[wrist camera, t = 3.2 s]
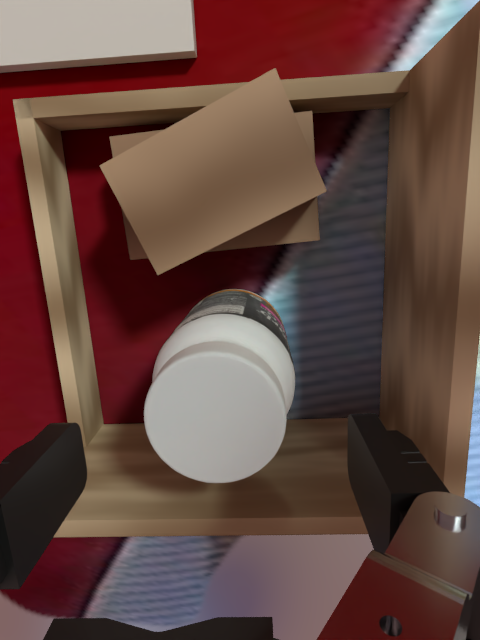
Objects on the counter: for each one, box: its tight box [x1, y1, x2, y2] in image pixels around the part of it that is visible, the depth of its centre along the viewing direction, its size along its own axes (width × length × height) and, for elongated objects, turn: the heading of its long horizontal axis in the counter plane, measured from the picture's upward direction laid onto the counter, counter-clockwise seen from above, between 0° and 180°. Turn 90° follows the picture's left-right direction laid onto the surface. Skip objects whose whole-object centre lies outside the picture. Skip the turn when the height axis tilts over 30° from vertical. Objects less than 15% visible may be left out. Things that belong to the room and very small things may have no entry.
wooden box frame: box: [13, 1, 480, 537], centre depth 18 cm, size 18×18×8 cm
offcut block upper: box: [100, 68, 327, 275], centre depth 17 cm, size 5×8×2 cm, turn 116°
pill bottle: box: [144, 289, 295, 483], centre depth 17 cm, size 6×6×10 cm
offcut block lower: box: [109, 111, 320, 260], centre depth 19 cm, size 6×9×3 cm, turn 96°
